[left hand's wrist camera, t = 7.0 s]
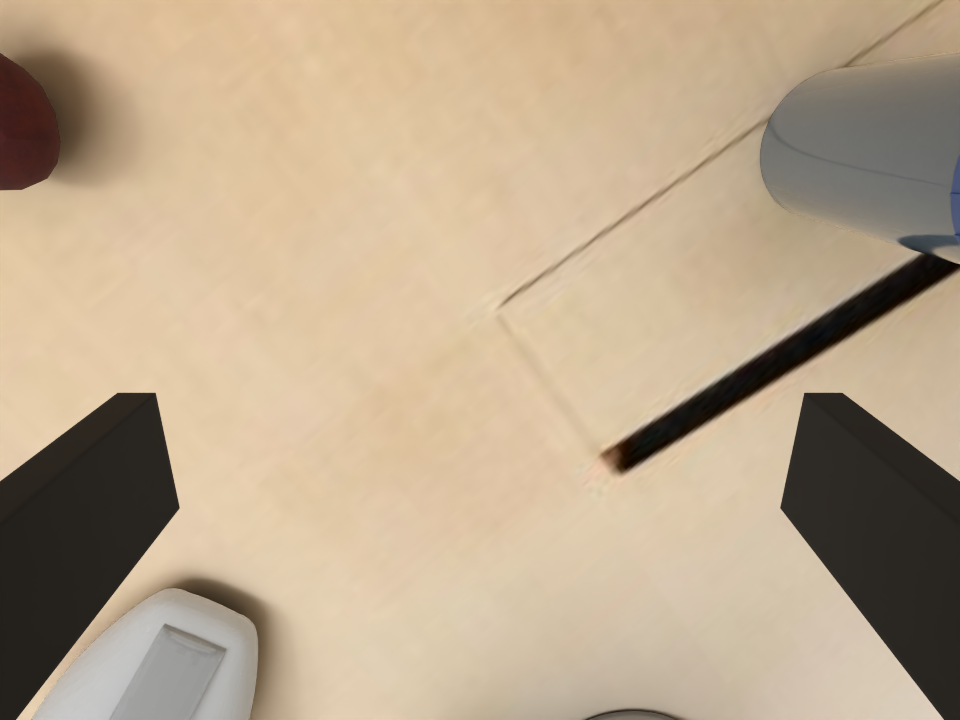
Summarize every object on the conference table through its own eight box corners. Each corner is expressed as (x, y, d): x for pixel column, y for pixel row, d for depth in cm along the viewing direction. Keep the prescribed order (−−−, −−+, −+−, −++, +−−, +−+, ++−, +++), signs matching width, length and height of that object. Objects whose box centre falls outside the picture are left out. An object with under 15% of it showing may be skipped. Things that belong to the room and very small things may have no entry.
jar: (741, 110, 36) (970, 102, 19) (887, 39, 35) (1271, -37, 18) (781, 241, 39) (1012, 334, 22) (918, 180, 38) (1276, 229, 21)
